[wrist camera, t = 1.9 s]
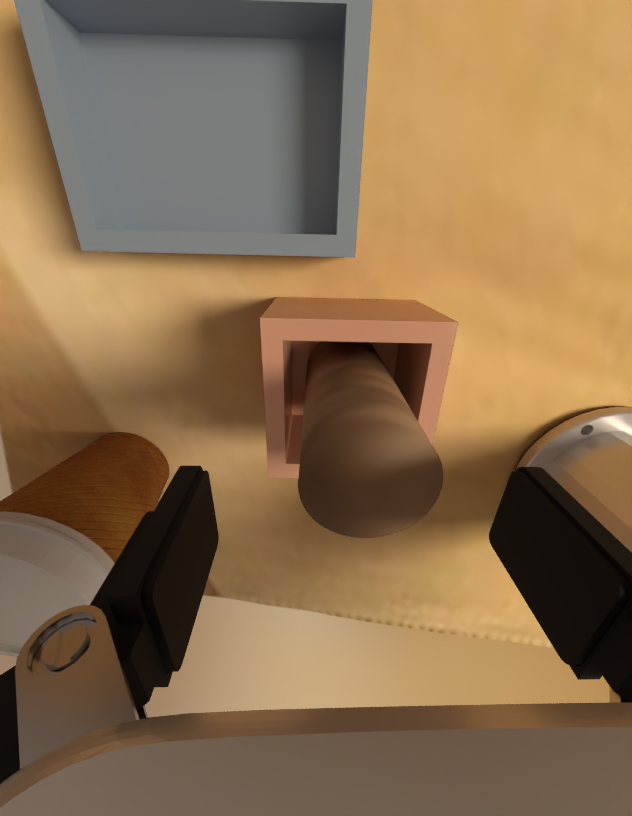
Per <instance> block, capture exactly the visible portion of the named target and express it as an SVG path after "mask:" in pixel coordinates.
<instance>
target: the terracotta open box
mask: <svg viewBox="0 0 632 816" xmlns="http://www.w3.org/2000/svg"><path fill="white" fill-rule="evenodd" d="M457 327H458V322H457V321H455V320H453V319H451V318H449V317H447V316H445V315H443V314H442V313H440V312H438V311H436V310H434V309H432V308H430V307H428V306H426V305H424V304H422V303H420V302H418V301H416V300H381V299H335V298H290V297H276V299H275V300H274V301H273V302H272V304H271V305H270V306H269V307H268V309H267V310H266V311H265V312H264V313H263V315H262V316H261V317H260V330H261V348H262V366H263V385H264V403H265V421H266V439H267V458H268V476H269V478H299V465H300V452H301V439H302V425H303V412H304V399H305V385H306V372H307V363H308V359H309V356H310V354H311V352H312V351H313V349H314V348H315V347H316V346H317V344H318V343H320V342H321V341H338V342H369V343H370V344H371V345H372V346H373V347H374V348H375V350H376V352H377V353H378V355H379V357H380V358H381V360H382V362H383V363H384V365H385V367H386V368H387V370H388V372H389V373H390V375H391V377H392V379H393V380H394V382H395V384H396V385H397V387H398V389H399V390H400V392H401V394H402V395H403V397H404V399H405V400H406V402H407V404H408V405H409V407H410V409H411V411H412V412H413V414H414V416H415V417H416V419H417V421H418V422H419V424H420V426H421V427H422V429H423V431H424V432H425V434H426V436H427V437H428V439H429V441H430V443H431V444H433V439H434V435H435V430H436V425H437V421H438V416H439V411H440V407H441V402H442V397H443V393H444V388H445V383H446V378H447V374H448V369H449V364H450V360H451V355H452V350H453V346H454V341H455V336H456V331H457Z"/></svg>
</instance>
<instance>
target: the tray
mask: <svg viewBox="0 0 632 816" xmlns="http://www.w3.org/2000/svg"><path fill="white" fill-rule="evenodd" d="M14 2H15V6H16V9H17V13H18V17H19V20H20V24H21V28H22V32H23V35H24V39H25V43H26V46H27V50H28V54H29V58H30V61H31V65H32V69H33V72H34V76H35V80H36V84H37V87H38V91H39V95H40V98H41V102H42V106H43V110H44V113H45V117H46V121H47V124H48V128H49V132H50V135H51V139H52V143H53V147H54V150H55V154H56V158H57V161H58V165H59V169H60V173H61V176H62V180H63V184H64V187H65V191H66V195H67V199H68V202H69V206H70V210H71V213H72V217H73V221H74V225H75V228H76V232H77V236H78V239H79V243H80V247H81V250H82V251H104V252H147V253H190V254H233V255H276V256H319V257H355V252H356V237H357V222H358V207H359V193H360V178H361V163H362V148H363V134H364V119H365V104H366V89H367V74H368V60H369V45H370V30H371V15H372V0H14Z"/></svg>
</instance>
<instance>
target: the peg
mask: <svg viewBox="0 0 632 816" xmlns="http://www.w3.org/2000/svg"><path fill="white" fill-rule="evenodd" d="M442 483H443V469H442V464H441V461H440V459H439V456H438V455H437V453H436V451H435V449H434V448H433V446H432V444H431V443H430V441H429V439H428V437H427V436H426V434H425V432H424V431H423V429H422V427H421V426H420V424H419V422H418V421H417V419H416V417H415V416H414V414H413V412H412V411H411V409H410V407H409V405H408V404H407V402H406V400H405V399H404V397H403V395H402V394H401V392H400V390H399V389H398V387H397V385H396V384H395V382H394V380H393V379H392V377H391V375H390V373H389V372H388V370H387V368H386V367H385V365H384V363H383V362H382V360H381V358H380V357H379V355H378V353H377V352H376V350H375V348H374V347H373V346H372V345H371V344H370V343H369V342H338V341H321V342H320V343H318V344H317V346H316V347H315V348H314V349H313V351H312V352H311V354H310V356H309V359H308V363H307V372H306V385H305V399H304V412H303V425H302V439H301V452H300V465H299V479H298V490H299V495H300V499H301V502H302V504H303V506H304V508H305V509H306V511H307V512H308V513H309V515H310V516H311V517H312V518H313V519H314V520H315V521H316V522H318V523H319V524H320V525H322V526H323V527H325V528H327V529H329V530H331V531H333V532H336V533H338V534H342V535H345V536H351V537H359V538H372V537H380V536H385V535H390V534H393V533H396V532H399V531H401V530H403V529H405V528H407V527H409V526H411V525H413V524H414V523H416V522H417V521H418V520H420V519H421V518H422V517H423V516H424V515H425V514H426V513H427V512H428V511H429V510H430V509H431V508H432V506H433V505H434V503H435V502H436V500H437V498H438V496H439V494H440V491H441V488H442Z"/></svg>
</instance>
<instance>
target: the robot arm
mask: <svg viewBox="0 0 632 816" xmlns="http://www.w3.org/2000/svg"><path fill="white" fill-rule="evenodd" d="M489 540H490V543H491V545H492V547H493V549H494V550H495V552H496V554H497V555H498V557H499V559H500V560H501V562H502V564H503V565H504V567H505V568H506V570H507V572H508V573H509V575H510V577H511V578H512V580H513V582H514V583H515V585H516V586H517V588H518V590H519V591H520V593H521V595H522V596H523V598H524V599H525V601H526V603H527V604H528V606H529V608H530V609H531V611H532V613H533V614H534V616H535V617H536V619H537V621H538V622H539V624H540V626H541V627H542V629H543V631H544V632H545V634H546V635H547V637H548V639H549V640H550V642H551V644H552V645H553V647H554V648H555V650H556V652H557V653H558V655H559V656H560V658H561V659H562V660H563V661H564V662H565V663H566V664H568V665H570V667H571V669H572V670H573V672H574V673H575V675H576V677H577V678H578V679H600V678H601V677H602V675H603V677H604V678H605V680H606V681H607V683H608V684H609V689H610V703H566V704H565V703H559V704H498V705H497V704H496V705H449V706H448V705H447V706H399V707H357V708H320V709H281V710H251V711H230V712H209V713H189V714H179V715H169V716H160V717H151V718H148V715H147V712H146V709H145V706H144V705H145V704H146V703H147V702H149V700H150V697H151V695H152V692H153V689H154V687H168V685H169V682H170V679H171V675H172V672H173V671H179V669H180V668H181V665H182V662H183V659H184V656H185V653H186V649H187V645H188V642H189V639H190V636H191V632H192V629H193V626H194V622H195V619H196V616H197V612H198V609H199V605H200V602H201V599H202V596H203V592H204V589H205V586H206V582H207V579H208V576H209V572H210V569H211V566H212V562H213V559H214V556H215V552H216V549H217V545H218V529H217V523H216V516H215V510H214V504H213V498H212V492H211V485H210V479H209V474H208V471H203V470H202V467H201V466H180V467H179V469H178V470H177V472H176V474H175V476H174V477H173V479H172V481H171V482H170V484H169V486H168V488H167V489H166V491H165V493H164V495H163V496H162V498H161V500H160V502H159V503H158V505H157V507H156V508H155V510H154V511H149V512H147V513H146V514H145V515H144V516H143V518H142V519H141V521H140V523H139V524H138V526H137V527H136V529H135V531H134V532H133V534H132V536H131V537H130V539H129V541H128V542H127V544H126V546H125V547H124V549H123V551H122V552H121V554H120V556H119V557H118V559H117V561H116V562H115V564H114V566H113V567H112V569H111V570H110V572H109V574H108V575H107V577H106V579H105V580H104V582H103V584H102V585H101V587H100V589H99V590H98V592H97V594H96V595H95V597H94V599H93V600H92V602H91V604H90V605H81V606H76V607H71V608H69V609H67V610H65V611H62V612H60V613H58V614H56V615H55V616H53V617H52V618H50V619H49V620H47V621H46V622H45V623H43V624H42V625H41V626H40V627H39V628H38V629H37V630H36V631H35V632H33V634H32V635H31V636H30V637H29V639H28V640H27V641H26V643H25V644H24V645H23V647H22V649H21V651H20V653H19V655H18V657H17V662H16V666H14V667H13V668H11V669H9V670H8V671H6V672H5V673H3V674H2V675H0V816H632V408H631V407H611V408H604V409H597V410H594V411H591V412H587V413H584V414H580V415H578V416H576V417H574V418H571V419H569V420H567V421H565V422H563V423H561V424H560V425H558V426H556V427H555V428H553V429H552V430H550V431H548V432H547V433H546V434H545V435H544V436H542V437H541V438H540V439H539V440H537V441H536V442H535V443H534V444H533V445H532V447H531V448H530V449H529V450H528V451H527V452H526V453H525V455H524V456H523V458H522V459H521V461H520V462H519V464H518V465H517V468H516V470H515V472H512V473H511V475H510V478H509V480H508V483H507V486H506V489H505V491H504V494H503V497H502V500H501V502H500V505H499V508H498V510H497V513H496V516H495V519H494V521H493V524H492V527H491V530H490V532H489Z"/></svg>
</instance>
